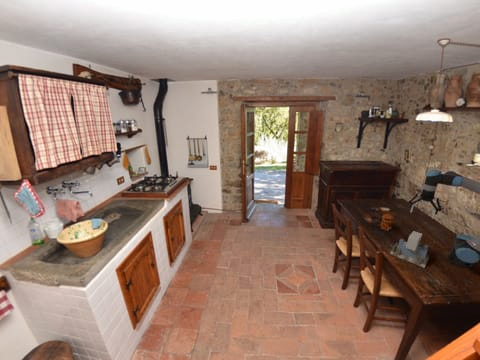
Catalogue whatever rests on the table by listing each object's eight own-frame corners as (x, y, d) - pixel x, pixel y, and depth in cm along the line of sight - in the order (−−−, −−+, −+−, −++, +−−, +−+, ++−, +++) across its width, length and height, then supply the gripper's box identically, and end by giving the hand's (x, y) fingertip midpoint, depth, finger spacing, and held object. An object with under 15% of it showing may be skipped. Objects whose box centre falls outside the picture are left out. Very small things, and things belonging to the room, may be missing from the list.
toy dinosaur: (385, 232, 212) (389, 216, 207) (376, 227, 222) (379, 211, 217) (394, 231, 215) (398, 215, 210) (384, 226, 225) (388, 210, 220)
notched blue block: (424, 258, 174) (428, 244, 170) (423, 262, 169) (428, 248, 165) (397, 248, 186) (401, 235, 182) (396, 252, 181) (399, 239, 177)
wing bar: (419, 244, 177) (422, 233, 174) (414, 251, 168) (418, 240, 165) (410, 241, 181) (413, 230, 178) (405, 247, 173) (408, 236, 170)
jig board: (428, 259, 175) (430, 252, 173) (424, 268, 165) (426, 261, 163) (395, 246, 191) (397, 240, 190) (389, 253, 181) (391, 247, 180)
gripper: (452, 193, 157) (443, 219, 164) (410, 184, 175) (404, 208, 181) (450, 195, 152) (442, 222, 159) (408, 186, 170) (401, 210, 177)
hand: (421, 214), depth 170 cm, fingers open, 13 cm apart
